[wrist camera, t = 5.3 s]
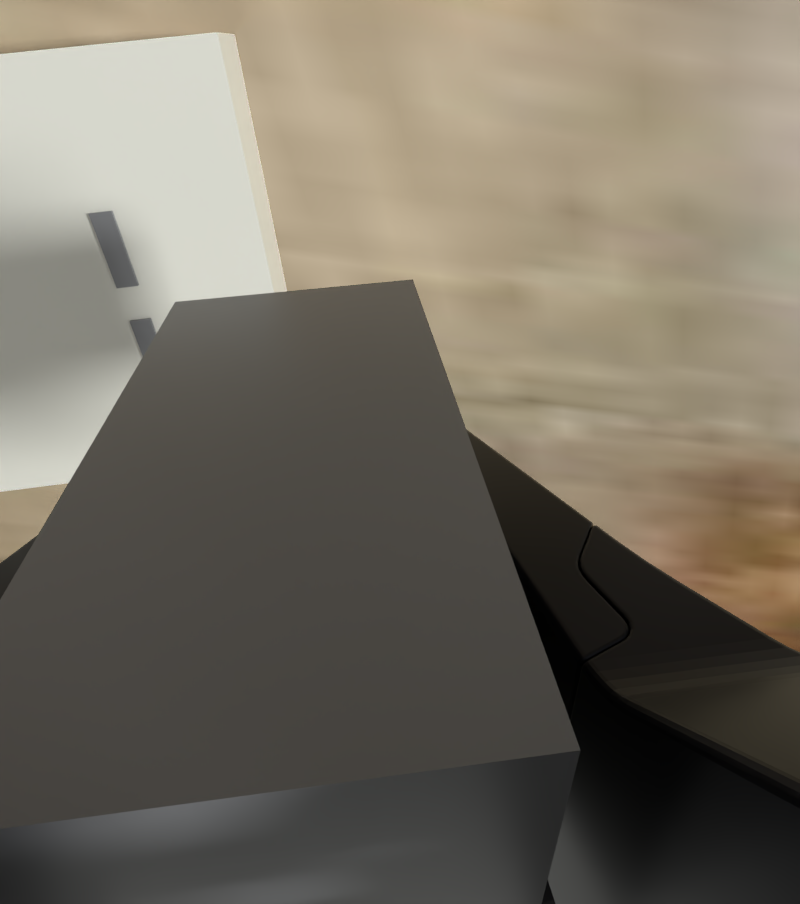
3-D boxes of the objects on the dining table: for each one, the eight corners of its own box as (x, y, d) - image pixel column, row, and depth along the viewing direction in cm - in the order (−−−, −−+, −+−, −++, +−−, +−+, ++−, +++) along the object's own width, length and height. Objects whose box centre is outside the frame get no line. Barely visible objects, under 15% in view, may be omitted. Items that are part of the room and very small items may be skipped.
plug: (412, 279, 10) (579, 750, 3) (421, 466, 12) (528, 952, 6) (175, 301, 10) (-147, 849, 3) (230, 486, 12) (114, 1016, 5)
